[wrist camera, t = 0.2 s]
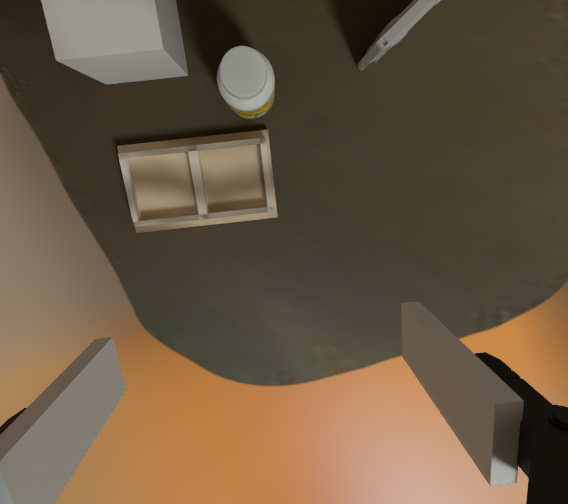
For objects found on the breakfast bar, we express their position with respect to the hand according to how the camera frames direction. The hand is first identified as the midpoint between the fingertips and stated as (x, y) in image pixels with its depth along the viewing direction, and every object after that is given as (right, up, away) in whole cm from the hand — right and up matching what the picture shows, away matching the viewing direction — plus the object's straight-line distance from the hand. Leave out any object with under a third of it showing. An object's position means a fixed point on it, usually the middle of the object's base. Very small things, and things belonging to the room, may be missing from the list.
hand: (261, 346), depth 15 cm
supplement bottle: (-3, +22, +23) cm, 32 cm away
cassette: (+14, +29, +22) cm, 38 cm away
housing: (-14, +27, +21) cm, 37 cm away
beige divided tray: (-9, +13, +25) cm, 29 cm away
